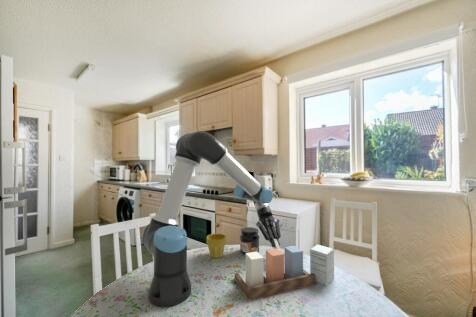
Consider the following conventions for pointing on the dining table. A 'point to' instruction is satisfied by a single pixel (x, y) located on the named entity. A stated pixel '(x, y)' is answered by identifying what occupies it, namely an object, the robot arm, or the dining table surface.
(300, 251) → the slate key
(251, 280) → the ivory key
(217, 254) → the plant pot
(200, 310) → the dining table surface
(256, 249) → the supplement container
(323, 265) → the supplement box
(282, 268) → the pink rectangular block
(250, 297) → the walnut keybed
